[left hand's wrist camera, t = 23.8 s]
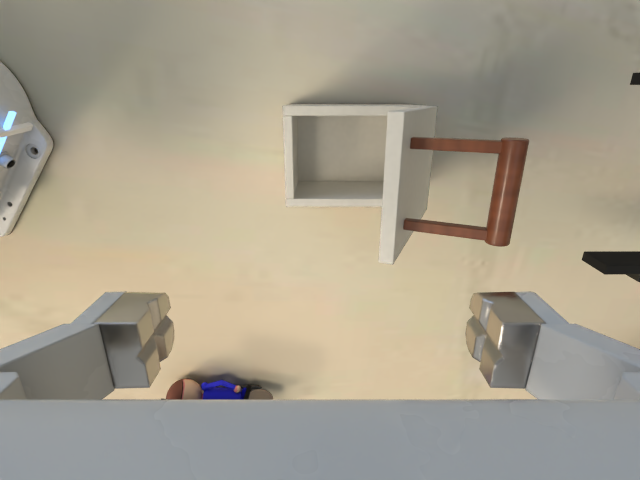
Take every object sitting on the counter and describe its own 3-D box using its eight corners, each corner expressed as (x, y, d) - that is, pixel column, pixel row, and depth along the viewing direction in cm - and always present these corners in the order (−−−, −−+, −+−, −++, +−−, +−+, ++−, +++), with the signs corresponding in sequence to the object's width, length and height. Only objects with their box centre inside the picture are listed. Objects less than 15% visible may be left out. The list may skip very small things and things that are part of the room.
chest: (292, 186, 46) (285, 207, 38) (290, 103, 43) (282, 105, 34) (401, 186, 46) (420, 207, 38) (408, 104, 43) (430, 106, 34)
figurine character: (274, 370, 58) (171, 365, 55) (274, 409, 51) (156, 406, 48) (269, 404, 60) (170, 401, 58) (268, 446, 53) (156, 444, 51)
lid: (378, 262, 25) (506, 284, 22) (387, 111, 22) (539, 113, 19) (416, 208, 37) (502, 217, 34) (426, 106, 34) (522, 107, 31)
